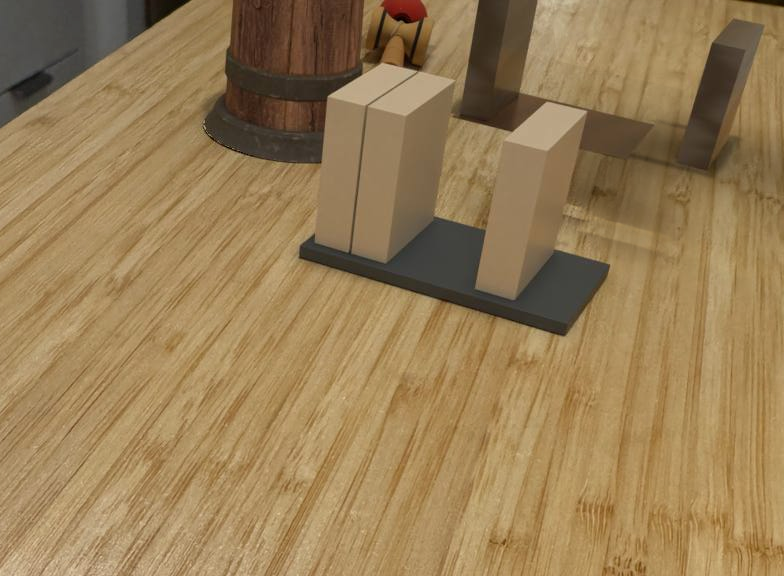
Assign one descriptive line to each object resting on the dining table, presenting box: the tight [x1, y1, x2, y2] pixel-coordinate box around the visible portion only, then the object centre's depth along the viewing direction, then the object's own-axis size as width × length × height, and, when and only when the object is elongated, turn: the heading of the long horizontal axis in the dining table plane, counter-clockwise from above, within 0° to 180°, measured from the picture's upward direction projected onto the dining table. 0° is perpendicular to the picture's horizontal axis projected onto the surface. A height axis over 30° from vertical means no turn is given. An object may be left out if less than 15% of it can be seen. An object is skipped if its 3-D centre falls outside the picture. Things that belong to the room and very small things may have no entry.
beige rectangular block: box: [475, 102, 587, 300], centre depth 85 cm, size 3×10×11 cm, turn 154°
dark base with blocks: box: [298, 63, 611, 336], centre depth 87 cm, size 22×12×12 cm, turn 63°
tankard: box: [204, 0, 365, 164], centre depth 106 cm, size 24×17×20 cm
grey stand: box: [451, 0, 765, 172], centre depth 111 cm, size 26×12×12 cm, turn 63°
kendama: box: [364, 0, 435, 68], centre depth 126 cm, size 8×6×18 cm
